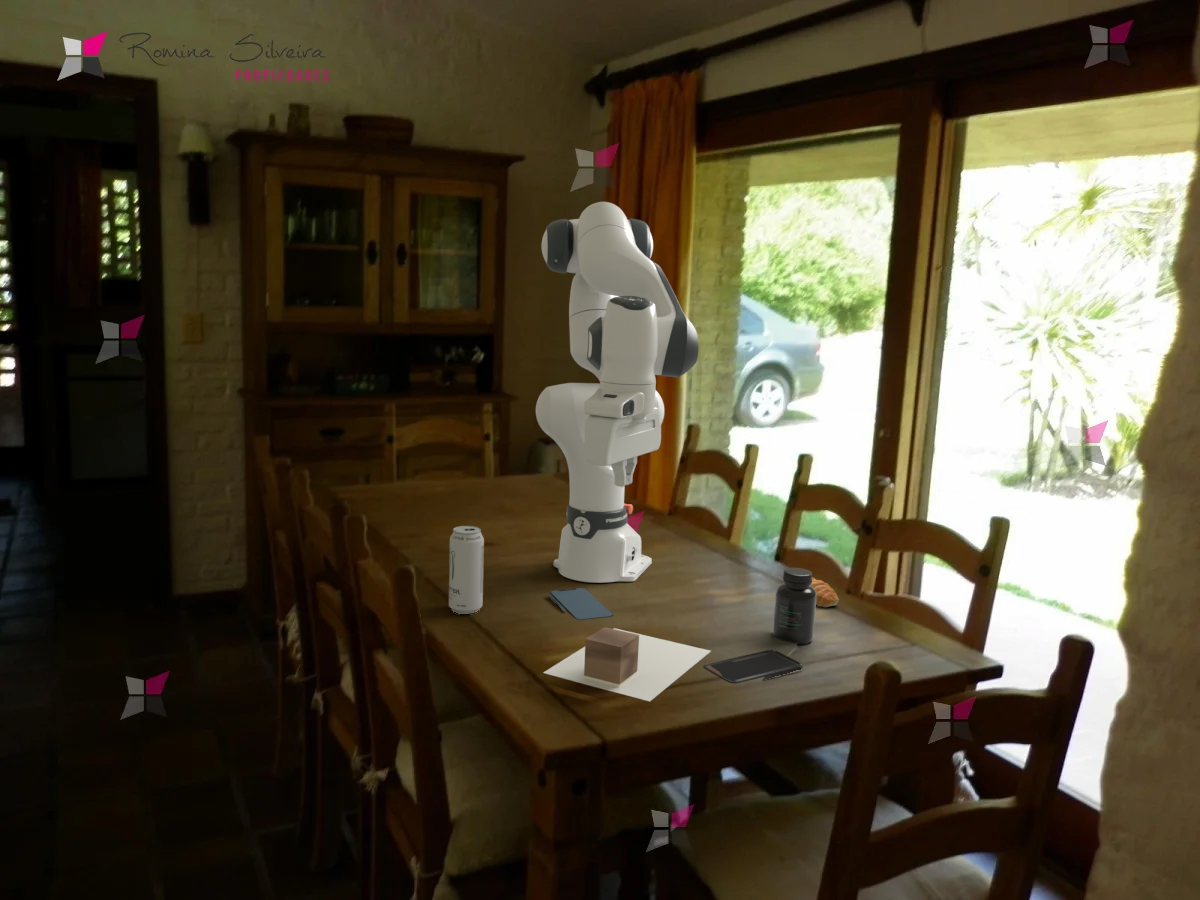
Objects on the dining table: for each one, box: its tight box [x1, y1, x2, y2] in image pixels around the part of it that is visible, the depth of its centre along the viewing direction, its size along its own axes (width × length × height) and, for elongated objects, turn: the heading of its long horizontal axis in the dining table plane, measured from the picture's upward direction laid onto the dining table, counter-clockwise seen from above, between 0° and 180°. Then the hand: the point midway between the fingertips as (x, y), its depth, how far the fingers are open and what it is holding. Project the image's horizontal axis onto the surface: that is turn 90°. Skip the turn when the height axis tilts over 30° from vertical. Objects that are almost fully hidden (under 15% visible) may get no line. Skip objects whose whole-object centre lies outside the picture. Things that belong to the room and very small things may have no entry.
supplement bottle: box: [772, 567, 817, 646], centre depth 169 cm, size 7×7×12 cm
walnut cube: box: [584, 626, 639, 687], centre depth 149 cm, size 6×6×6 cm
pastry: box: [810, 577, 840, 608], centre depth 190 cm, size 9×7×4 cm
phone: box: [703, 649, 804, 684], centre depth 155 cm, size 8×1×15 cm
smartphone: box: [549, 587, 614, 621], centre depth 180 cm, size 8×2×15 cm
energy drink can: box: [448, 525, 485, 615], centre depth 175 cm, size 6×6×15 cm
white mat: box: [542, 627, 712, 702], centre depth 155 cm, size 23×18×1 cm
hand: (623, 485), depth 159 cm, fingers closed
